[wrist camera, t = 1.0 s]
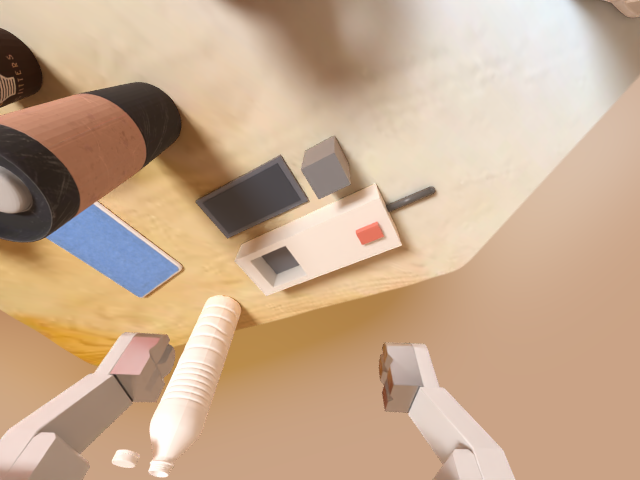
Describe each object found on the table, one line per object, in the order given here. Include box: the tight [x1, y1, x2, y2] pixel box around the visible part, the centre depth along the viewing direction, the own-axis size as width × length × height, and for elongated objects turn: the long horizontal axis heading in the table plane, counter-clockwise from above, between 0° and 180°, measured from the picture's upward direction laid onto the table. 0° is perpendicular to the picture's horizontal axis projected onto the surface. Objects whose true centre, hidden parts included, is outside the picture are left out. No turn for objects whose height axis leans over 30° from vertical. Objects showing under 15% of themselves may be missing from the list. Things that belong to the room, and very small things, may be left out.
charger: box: [301, 135, 351, 199], centre depth 34 cm, size 4×4×6 cm
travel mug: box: [0, 82, 181, 242], centre depth 26 cm, size 8×8×20 cm
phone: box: [195, 155, 308, 238], centre depth 40 cm, size 14×7×1 cm, turn 118°
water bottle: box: [112, 295, 241, 477], centre depth 43 cm, size 9×6×25 cm
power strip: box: [235, 183, 435, 296], centre depth 41 cm, size 28×8×5 cm, turn 118°
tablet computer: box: [46, 201, 183, 298], centre depth 46 cm, size 19×13×1 cm, turn 38°
